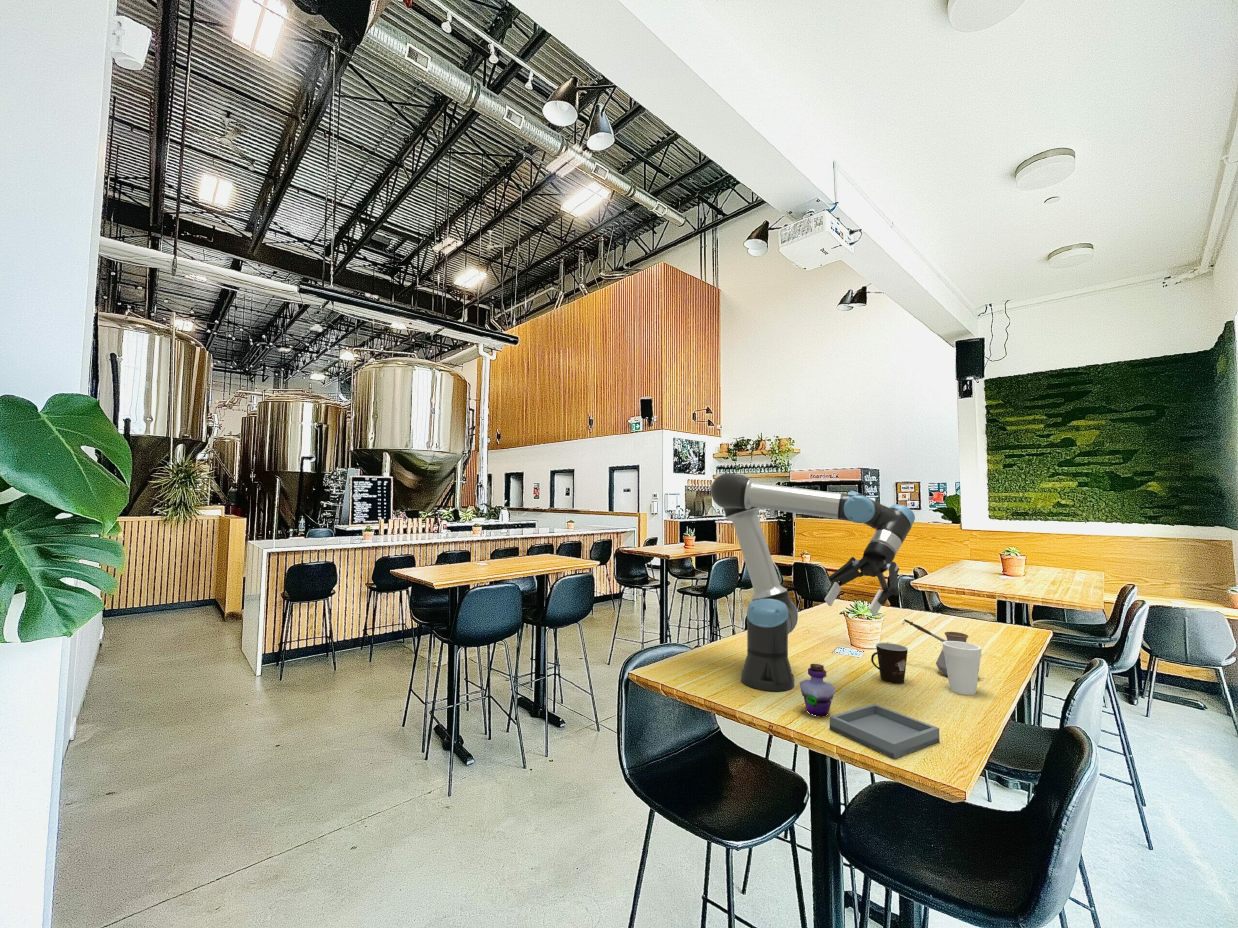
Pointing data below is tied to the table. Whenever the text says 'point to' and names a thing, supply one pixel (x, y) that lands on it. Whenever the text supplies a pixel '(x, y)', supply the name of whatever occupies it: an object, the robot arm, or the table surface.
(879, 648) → the coffee mug
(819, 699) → the potion bottle
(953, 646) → the foam cup
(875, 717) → the tray
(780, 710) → the table surface
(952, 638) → the coffee pot
